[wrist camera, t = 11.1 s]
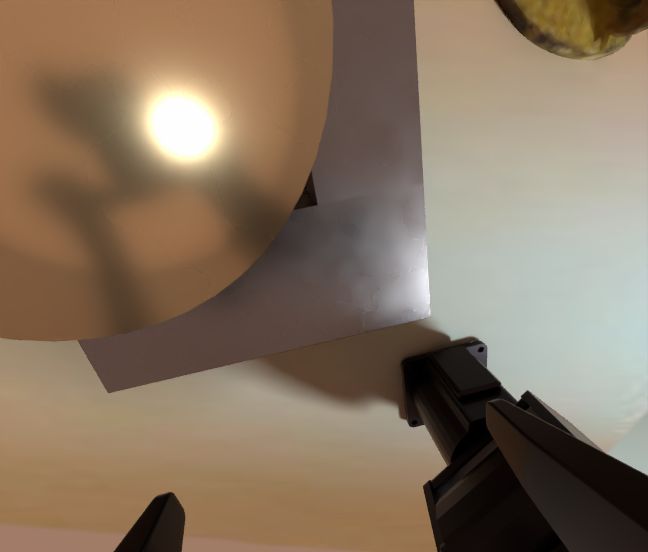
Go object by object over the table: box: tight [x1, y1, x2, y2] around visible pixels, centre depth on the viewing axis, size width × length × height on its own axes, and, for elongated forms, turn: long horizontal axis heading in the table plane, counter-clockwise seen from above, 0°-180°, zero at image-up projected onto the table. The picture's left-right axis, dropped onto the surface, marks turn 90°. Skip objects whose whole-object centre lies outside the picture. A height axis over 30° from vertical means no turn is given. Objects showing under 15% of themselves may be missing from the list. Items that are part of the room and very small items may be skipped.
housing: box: [78, 0, 430, 393], centre depth 13 cm, size 20×16×5 cm
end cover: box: [0, 0, 333, 341], centre depth 6 cm, size 6×6×8 cm
